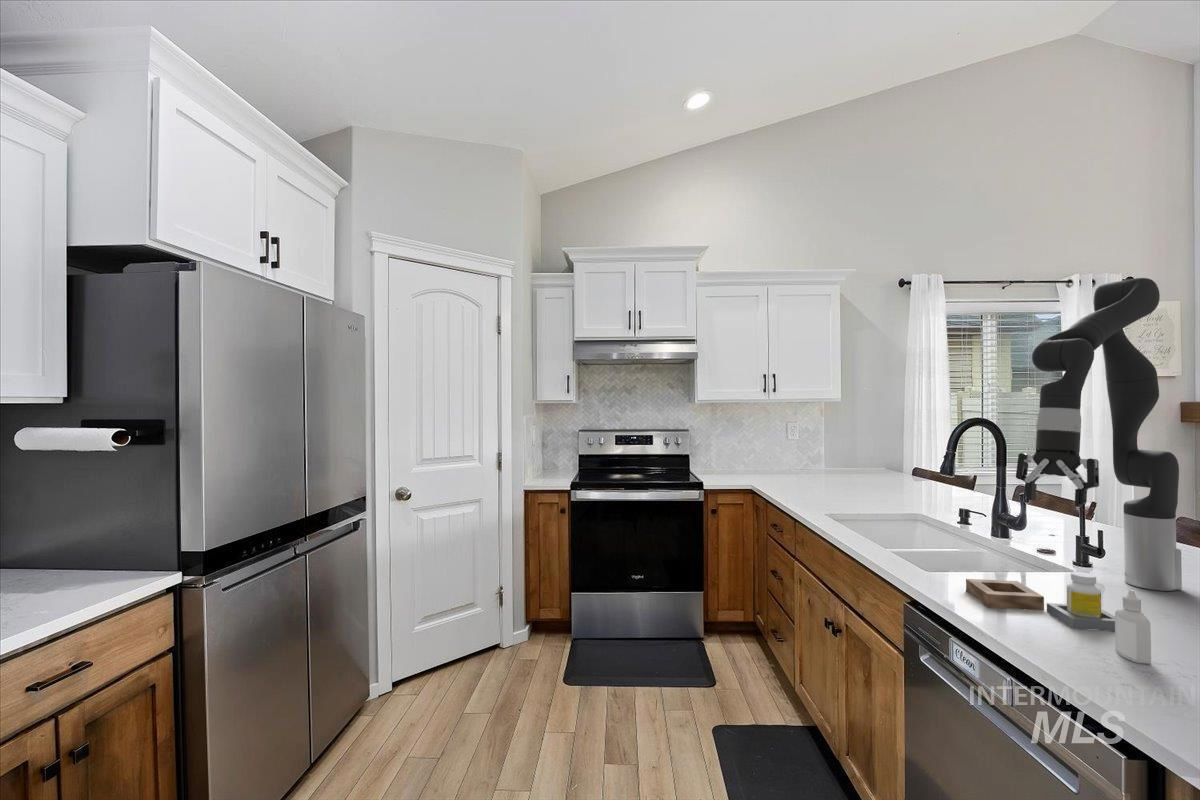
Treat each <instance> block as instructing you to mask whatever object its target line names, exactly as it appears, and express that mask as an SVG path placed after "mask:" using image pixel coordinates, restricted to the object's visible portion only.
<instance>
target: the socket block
mask: <svg viewBox="0 0 1200 800" xmlns="http://www.w3.org/2000/svg"><path fill="white" fill-rule="evenodd" d="M965 592H966V593H968V594H969V595H971V596H972V597H973V598H975V599H976V600H977V601H979V602H980V603H981V604H983V605H984V606H985V607H987V608H989V609H1005V608H1006V609H1007V610H1009V609H1010V610H1024V609H1026V610H1027V611H1028V610H1029V611H1043V612H1044V611H1045V596H1043V595H1042V594H1040V593H1038V592H1037V591H1035V590H1034V589H1031V588H1030V587H1028V586H1026V585H1025V584H1023V583H1021V582H1019V580H1005V579H1004V580H1001V579H981V578H980V579H979V578H978V579H977V578H976V579H975V578H965Z"/></svg>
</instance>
